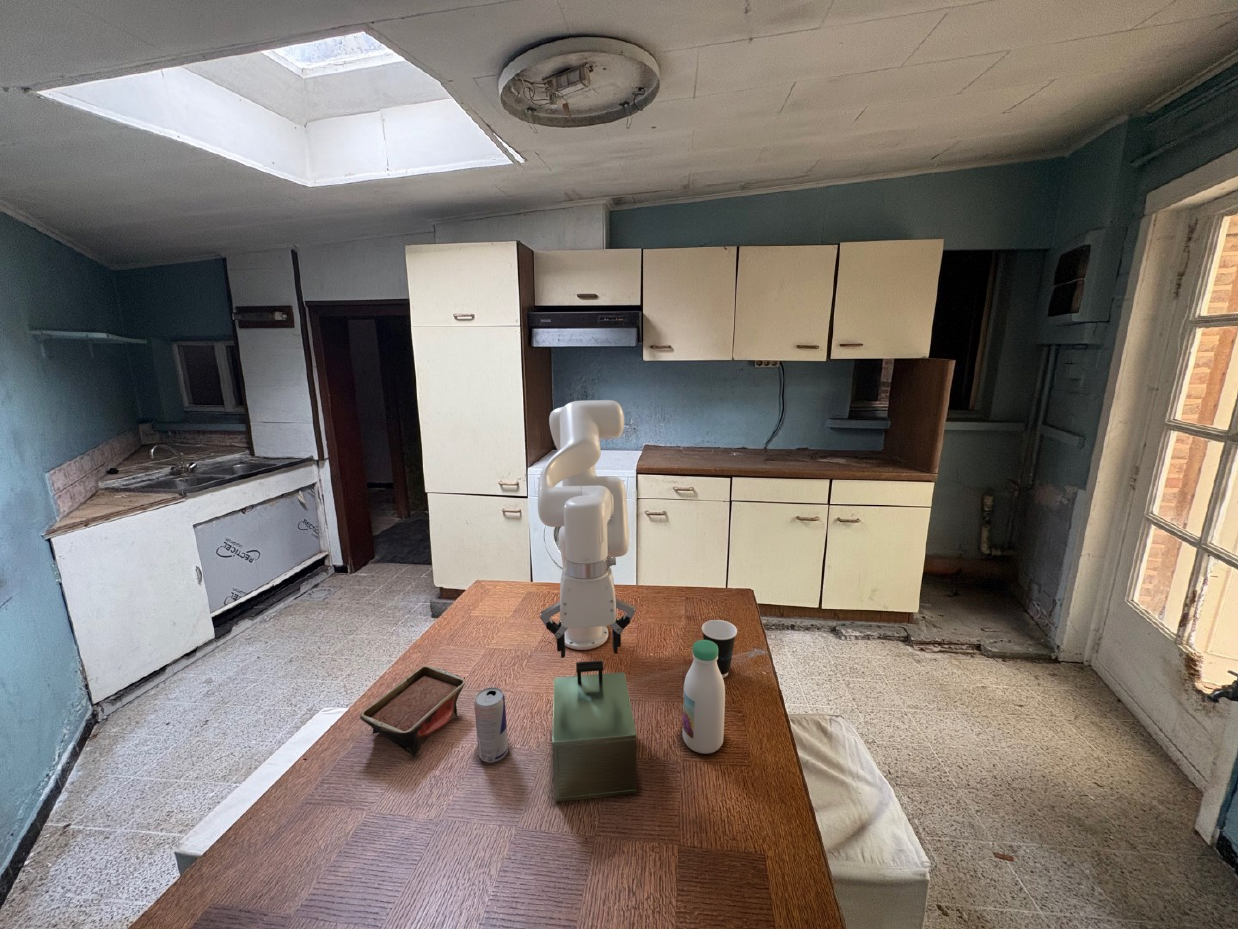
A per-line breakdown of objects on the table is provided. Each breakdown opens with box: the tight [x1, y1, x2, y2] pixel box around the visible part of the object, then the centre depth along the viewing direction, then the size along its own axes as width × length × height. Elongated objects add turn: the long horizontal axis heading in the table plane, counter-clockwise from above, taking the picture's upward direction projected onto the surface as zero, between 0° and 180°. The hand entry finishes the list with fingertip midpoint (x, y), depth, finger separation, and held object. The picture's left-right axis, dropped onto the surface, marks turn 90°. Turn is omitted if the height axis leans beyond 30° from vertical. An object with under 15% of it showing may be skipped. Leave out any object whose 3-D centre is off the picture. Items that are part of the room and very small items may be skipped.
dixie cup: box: [701, 619, 738, 679], centre depth 114 cm, size 8×8×11 cm
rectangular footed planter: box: [359, 665, 466, 758], centre depth 99 cm, size 14×18×10 cm
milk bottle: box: [682, 639, 726, 755], centre depth 93 cm, size 8×8×20 cm
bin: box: [552, 738, 638, 803], centre depth 90 cm, size 16×14×11 cm
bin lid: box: [551, 660, 637, 747], centre depth 88 cm, size 16×14×5 cm
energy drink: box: [473, 686, 509, 764], centre depth 92 cm, size 5×5×12 cm
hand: (589, 651), depth 93 cm, fingers open, 9 cm apart
